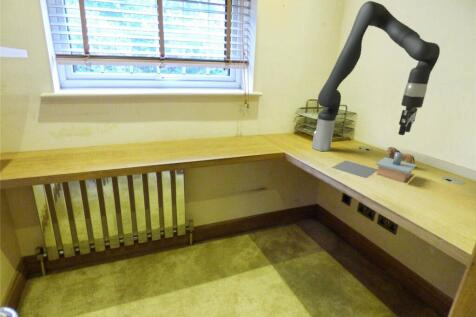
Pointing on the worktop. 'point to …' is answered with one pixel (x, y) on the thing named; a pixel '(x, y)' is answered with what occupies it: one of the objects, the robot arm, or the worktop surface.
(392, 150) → the lion figurine
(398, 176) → the dish
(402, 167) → the lid
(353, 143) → the worktop surface
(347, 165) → the mat
